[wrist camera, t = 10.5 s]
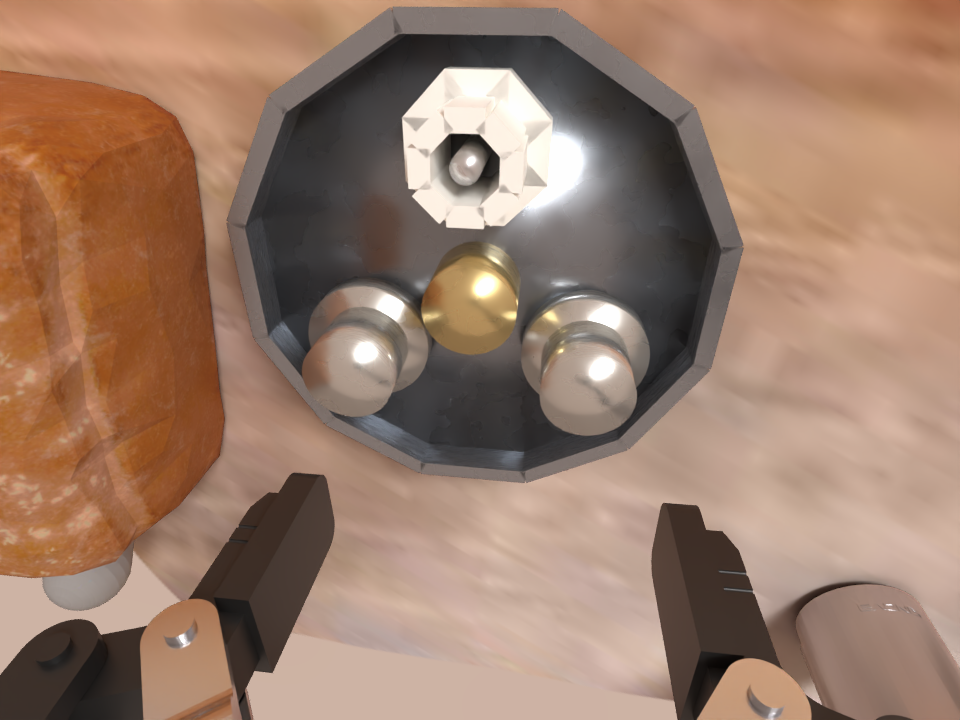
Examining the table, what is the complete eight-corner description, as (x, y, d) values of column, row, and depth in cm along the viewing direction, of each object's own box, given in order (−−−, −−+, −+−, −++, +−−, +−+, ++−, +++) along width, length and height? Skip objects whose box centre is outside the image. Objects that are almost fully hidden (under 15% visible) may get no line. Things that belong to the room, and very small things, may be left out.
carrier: (667, 461, 39) (687, 538, 33) (301, 430, 42) (259, 497, 36) (778, 11, 25) (846, 8, 19) (216, 6, 28) (123, 2, 22)
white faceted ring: (556, 68, 26) (556, 78, 21) (545, 219, 30) (543, 255, 25) (406, 65, 27) (374, 74, 22) (414, 213, 30) (388, 247, 26)
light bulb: (109, 501, 49) (15, 602, 40) (128, 467, 46) (32, 567, 38) (166, 532, 50) (87, 635, 42) (187, 500, 48) (107, 604, 39)
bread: (202, 102, 30) (-74, 163, 17) (237, 455, 44) (101, 641, 31) (-41, 55, 31) (-500, 79, 17) (70, 421, 44) (-137, 591, 31)
